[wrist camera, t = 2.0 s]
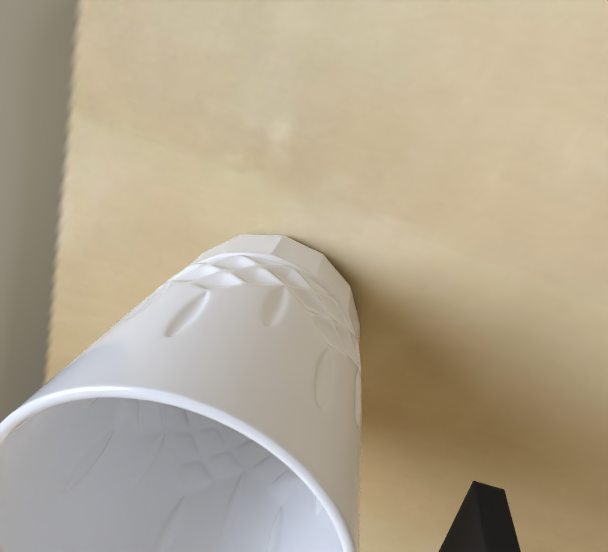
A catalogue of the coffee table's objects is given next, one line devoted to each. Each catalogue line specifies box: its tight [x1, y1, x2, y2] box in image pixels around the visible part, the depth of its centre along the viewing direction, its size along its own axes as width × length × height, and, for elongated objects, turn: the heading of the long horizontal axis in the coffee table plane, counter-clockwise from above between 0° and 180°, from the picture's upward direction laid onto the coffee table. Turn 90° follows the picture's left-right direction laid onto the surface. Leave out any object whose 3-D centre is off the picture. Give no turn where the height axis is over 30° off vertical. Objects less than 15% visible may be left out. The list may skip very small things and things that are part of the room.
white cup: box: [0, 234, 362, 552], centre depth 15 cm, size 8×8×10 cm
